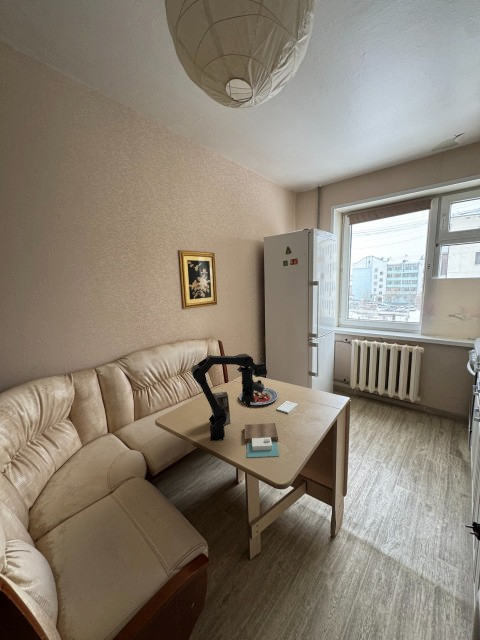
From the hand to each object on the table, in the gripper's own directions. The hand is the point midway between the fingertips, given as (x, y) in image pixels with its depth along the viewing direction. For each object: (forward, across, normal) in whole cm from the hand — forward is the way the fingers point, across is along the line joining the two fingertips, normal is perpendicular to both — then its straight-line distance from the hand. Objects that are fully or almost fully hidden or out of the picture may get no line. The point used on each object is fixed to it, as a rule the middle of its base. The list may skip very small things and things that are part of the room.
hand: (248, 407), depth 127 cm
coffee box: (+12, +7, +16) cm, 21 cm away
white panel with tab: (+12, -15, -6) cm, 20 cm away
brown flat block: (+12, -6, -6) cm, 14 cm away
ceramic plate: (+12, +35, -6) cm, 37 cm away
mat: (+12, -18, -6) cm, 22 cm away
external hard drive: (+12, +20, -23) cm, 33 cm away
